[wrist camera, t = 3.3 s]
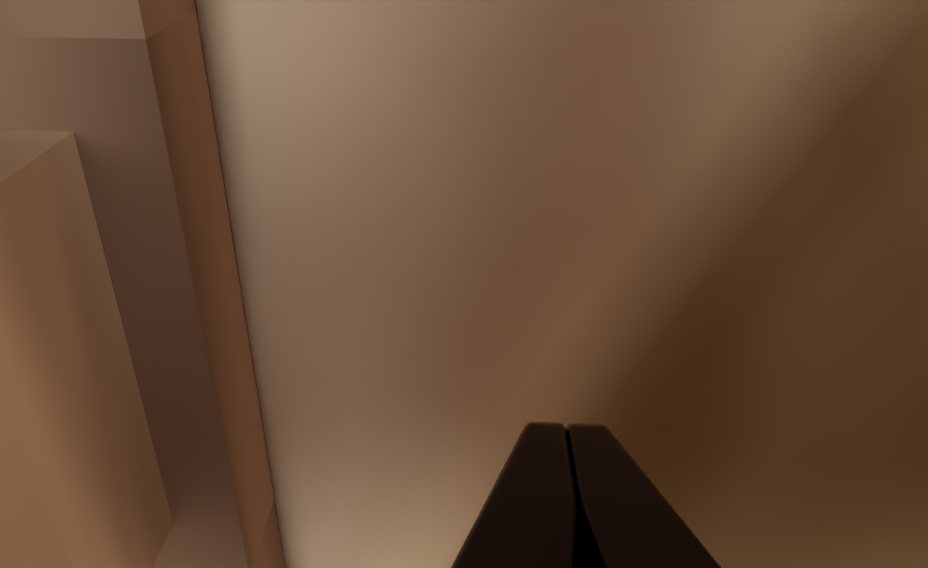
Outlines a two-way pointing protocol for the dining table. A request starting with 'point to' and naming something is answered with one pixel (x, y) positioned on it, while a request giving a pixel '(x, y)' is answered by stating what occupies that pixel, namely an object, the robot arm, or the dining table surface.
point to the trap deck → (158, 248)
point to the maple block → (67, 378)
